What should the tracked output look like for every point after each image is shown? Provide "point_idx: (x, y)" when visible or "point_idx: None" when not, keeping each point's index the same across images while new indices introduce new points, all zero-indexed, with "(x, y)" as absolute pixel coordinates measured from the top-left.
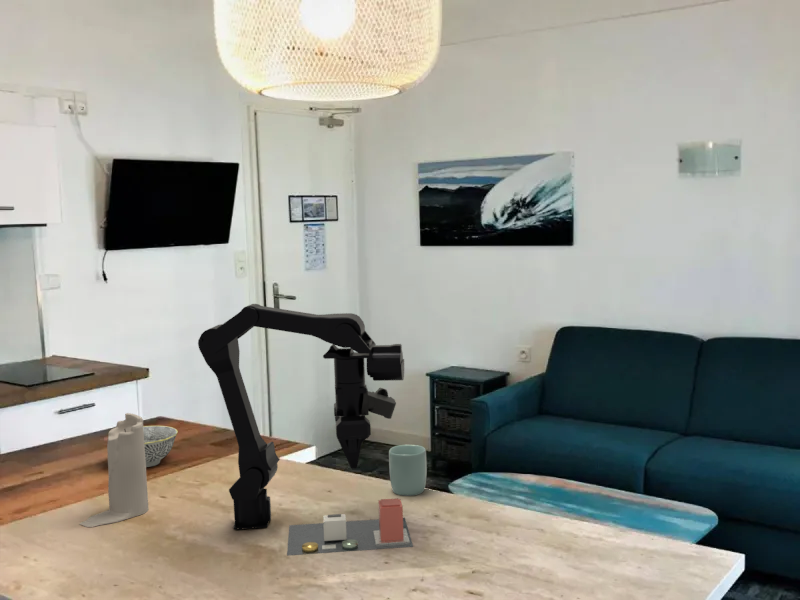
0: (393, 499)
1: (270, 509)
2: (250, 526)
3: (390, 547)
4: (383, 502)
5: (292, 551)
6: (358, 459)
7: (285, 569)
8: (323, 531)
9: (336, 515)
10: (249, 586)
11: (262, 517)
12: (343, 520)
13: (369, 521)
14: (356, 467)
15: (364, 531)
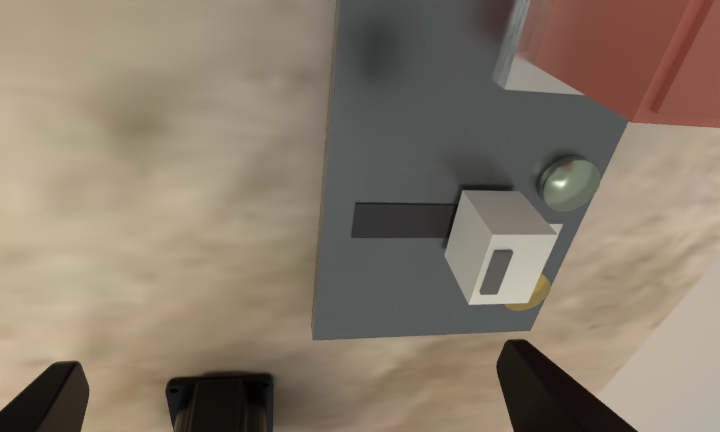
0: (715, 30)
1: (210, 405)
2: (272, 409)
3: None
4: (714, 105)
5: (512, 321)
6: (592, 396)
7: (559, 316)
8: (399, 253)
9: (503, 267)
10: (597, 365)
11: (247, 406)
12: (553, 242)
13: (354, 83)
14: (529, 344)
15: (457, 118)
